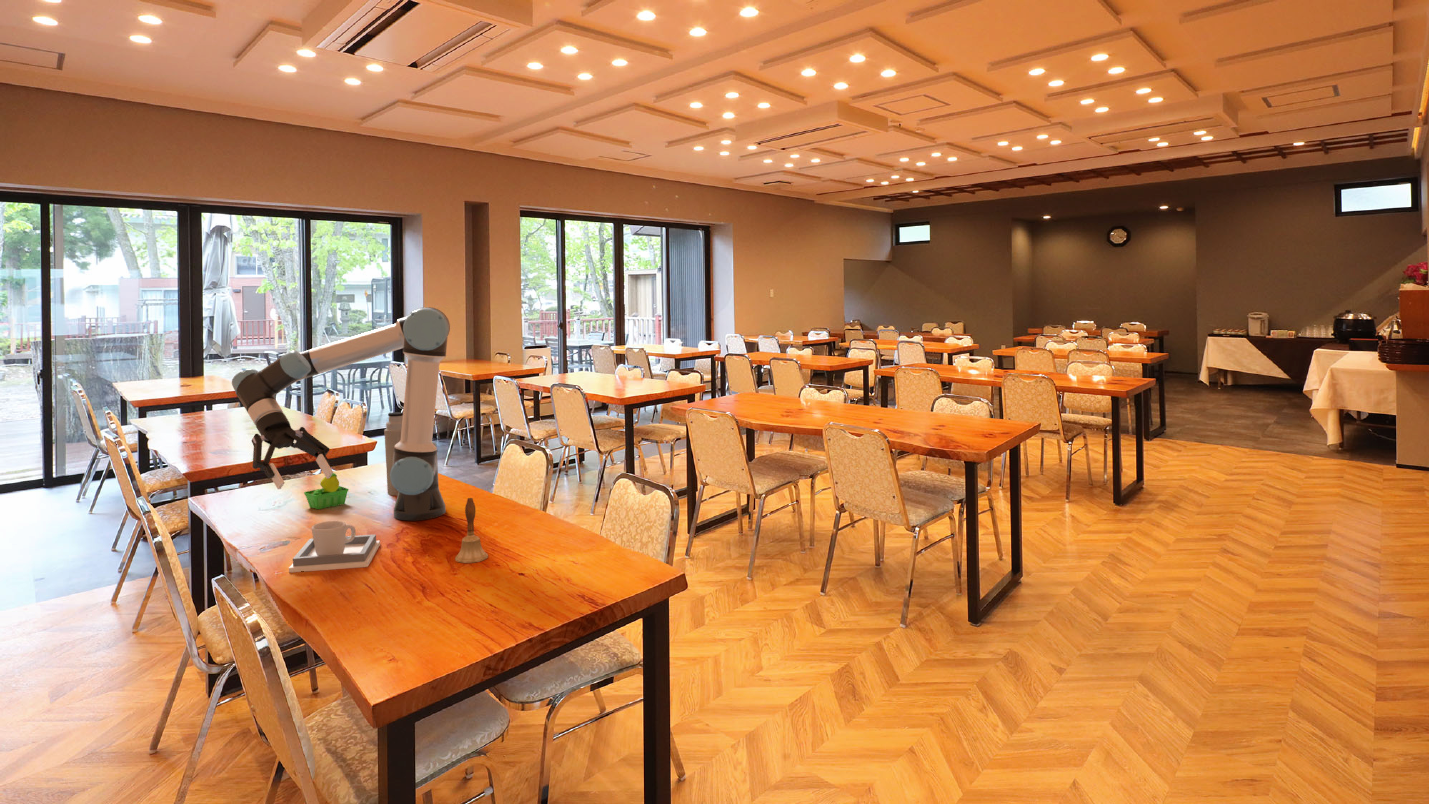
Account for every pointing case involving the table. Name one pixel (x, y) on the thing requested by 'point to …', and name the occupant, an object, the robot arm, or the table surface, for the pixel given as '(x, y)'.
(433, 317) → the robot arm
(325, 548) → the cup
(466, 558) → the hand bell
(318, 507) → the fruit basket
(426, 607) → the table surface
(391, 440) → the thermos bottle
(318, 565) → the gray rimmed square tray
